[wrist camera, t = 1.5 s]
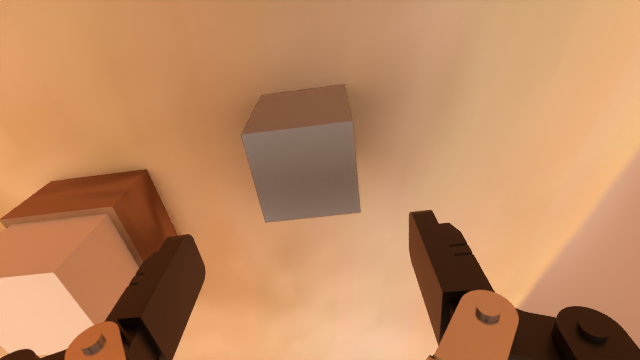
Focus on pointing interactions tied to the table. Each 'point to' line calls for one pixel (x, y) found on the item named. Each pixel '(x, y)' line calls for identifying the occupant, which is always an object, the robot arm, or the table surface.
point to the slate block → (303, 154)
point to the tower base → (104, 208)
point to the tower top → (59, 280)
